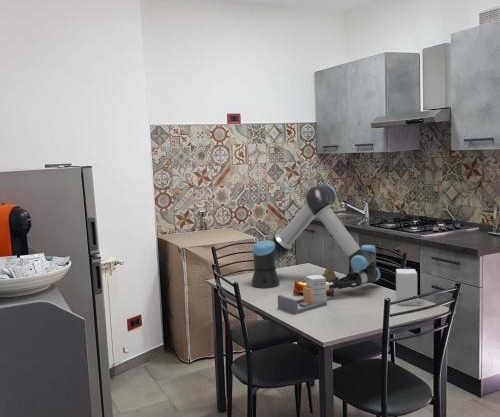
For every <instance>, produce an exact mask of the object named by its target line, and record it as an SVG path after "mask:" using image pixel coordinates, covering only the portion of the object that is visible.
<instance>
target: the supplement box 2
mask: <svg viewBox="0 0 500 417" xmlns="http://www.w3.org/2000/svg"><path fill="white" fill-rule="evenodd" d="M413 296H417V297H418V272H417V271H416V269H415V268H396V269H395V299H396V300H401V299H405V298H408V297H413ZM397 305H399V306H418V298H417V299H414V300H411V301H407V302H403V303H399V304H397Z"/></svg>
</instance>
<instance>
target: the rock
mask: <svg viewBox="0 0 500 417" xmlns="http://www.w3.org/2000/svg"><path fill="white" fill-rule="evenodd" d="M322 276H323V277H325V278H326V282H328V281H330V280H332V279H335V278H336V277H337V276H336V273H335V272H334V270H333V268H332V267H331V266H329V265H328V266H327V267H326V268H325V270H324V272H323V275H322Z"/></svg>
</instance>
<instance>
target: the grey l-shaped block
mask: <svg viewBox="0 0 500 417" xmlns="http://www.w3.org/2000/svg"><path fill="white" fill-rule="evenodd" d="M302 302H304V297H303V298H299V299H296V298H295V299H294V298H291V297H289V296H284V295H281V294H279V295H277V308H278V310H282V311H285V312H288V313H290V314H294V315H299V314H301V313H304V312H308V311H311V310H314V309H317V308H318V309H319V308H322V307H325V306H327V304H328V303H327V301H326V302H325V301H323V302H320V303H317V304H313V305H310V306H306V307H299V303H302Z"/></svg>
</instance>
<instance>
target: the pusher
mask: <svg viewBox="0 0 500 417" xmlns="http://www.w3.org/2000/svg"><path fill="white" fill-rule="evenodd" d="M302 291H303V293H302V294H303V298H304V302H302V303H299V304H298V307H300V308H303V307H306V306H310V305H313V289H310V288H307V287H306V286H305V287H302Z"/></svg>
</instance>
